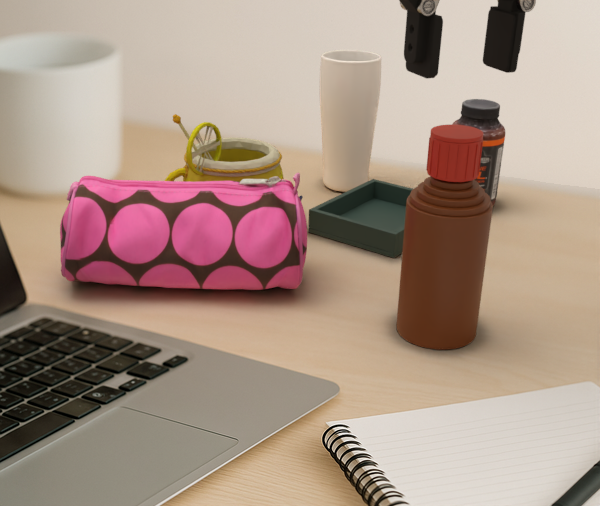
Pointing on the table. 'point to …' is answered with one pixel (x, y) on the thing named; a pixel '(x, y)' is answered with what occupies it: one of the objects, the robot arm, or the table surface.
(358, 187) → the tray
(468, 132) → the cap
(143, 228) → the pencil case
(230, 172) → the yellow round vessel
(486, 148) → the supplement bottle
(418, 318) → the bottle
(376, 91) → the drinking glass
